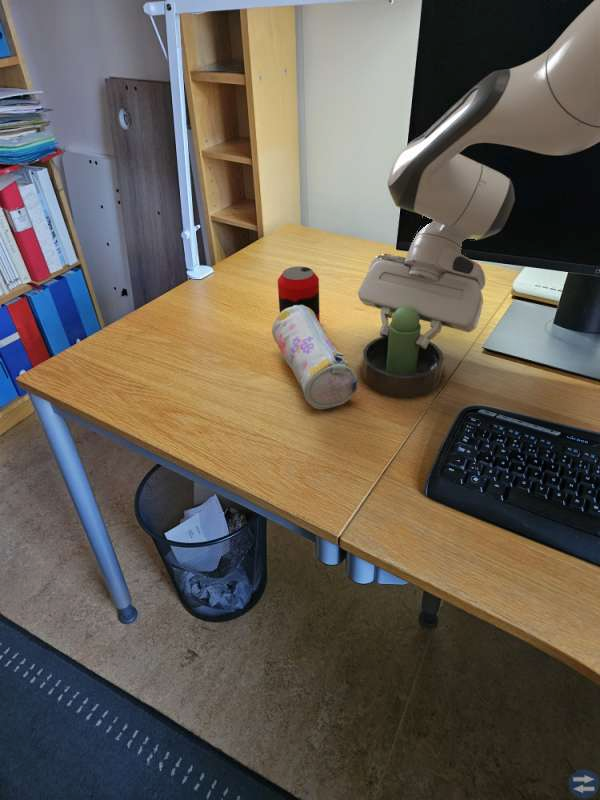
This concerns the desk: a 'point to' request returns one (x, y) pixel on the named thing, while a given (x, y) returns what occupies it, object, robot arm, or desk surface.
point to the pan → (397, 384)
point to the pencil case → (313, 358)
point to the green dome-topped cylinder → (403, 342)
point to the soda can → (299, 289)
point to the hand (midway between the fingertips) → (402, 341)
